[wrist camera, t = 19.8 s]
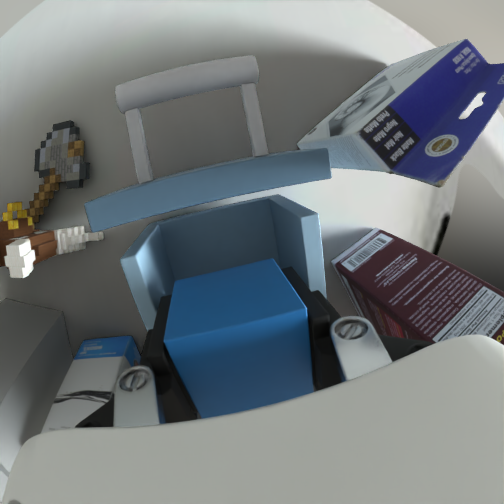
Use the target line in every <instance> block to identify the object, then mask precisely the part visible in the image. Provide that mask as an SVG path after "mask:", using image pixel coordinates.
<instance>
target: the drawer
mask: <svg viewBox="0 0 504 504" xmlns="http://www.w3.org/2000/svg"><path fill="white" fill-rule="evenodd" d="M258 81H259V68H258V63H257V60H256V58H255V57H254V56H253V55H249V56H241V57H233V58H226V59H219V60H213V61H207V62H202V63H197V64H192V65H187V66H182V67H178V68H174V69H170V70H166V71H162V72H158V73H154V74H151V75H147V76H144V77H141V78H137V79H134V80H131V81H128V82H125V83H122V84H119V85H117V86H116V88H115V98H116V103H117V106H118V108H119V110H120V112H121V113H123V114H125V118H126V124H127V129H128V135H129V140H130V145H131V150H132V155H133V160H134V165H135V169H136V174H137V178H138V184H135V185H131V186H128V187H125V188H123V189H120V190H117V191H114V192H112V193H109V194H106V195H104V196H101V197H99V198H96V199H94V200H91V201H89V202H86V203H85V204H84V206H85V210H86V214H87V217H88V221H89V224H90V228H91V231H92V233H95V232H98V231H102V230H105V229H108V228H112V227H115V226H119V225H122V224H126V223H129V222H133V221H136V220H140V219H144V218H147V217H151V216H155V215H159V214H163V213H167V212H170V211H174V210H178V209H182V208H187V207H191V206H195V205H199V204H203V203H208V202H212V201H216V200H221V199H225V198H230V197H234V196H239V195H244V194H249V193H254V192H259V191H264V190H269V189H274V188H279V187H284V186H290V185H295V184H301V183H307V182H312V181H318V180H324V179H330V178H332V173H331V166H330V159H329V153H328V149H327V148H317V149H304V150H293V151H283V152H276V153H270V154H269V152H268V146H267V141H266V136H265V131H264V125H263V120H262V115H261V110H260V105H259V100H258V96H257V91H256V86H255V84H257V83H258ZM238 86H241V87H240V92H241V97H242V102H243V107H244V112H245V117H246V122H247V127H248V132H249V137H250V142H251V147H252V153H253V157H247V158H242V159H237V160H232V161H227V162H222V163H217V164H213V165H208V166H204V167H199V168H195V169H191V170H187V171H183V172H179V173H175V174H171V175H167V176H163V177H159V178H156V179H154V177H153V173H152V168H151V164H150V159H149V154H148V149H147V144H146V139H145V134H144V129H143V123H142V118H141V112H140V110H139V109H140V108H143V107H147V106H150V105H154V104H157V103H161V102H165V101H169V100H173V99H177V98H181V97H185V96H189V95H194V94H199V93H204V92H209V91H214V90H220V89H225V88H232V87H238ZM271 258H273V259H274V261H275V262H276V264H277V265H278V266H279V268H280V269H283V268H287V267H291V266H292V267H293V269H294V270H295V271H296V272H297V274H298V275H299V276H300V278H301V279H302V280H303V281H304V283H305V284H306V285H307V286H308V288H309V289H310V290H311V292H312V291H316V290H319V291H320V292H321V293H322V294H323V296H324V297H325V298H326V284H325V272H324V260H323V250H322V240H321V231H320V222H319V214H318V213H316V212H314V211H312V210H310V209H308V208H306V207H304V206H302V205H300V204H298V203H296V202H294V201H292V200H289V199H287V198H285V197H283V196H281V195H279V194H277V195H272V196H267V197H262V198H257V199H252V200H247V201H243V202H238V203H233V204H229V205H224V206H220V207H216V208H211V209H207V210H203V211H198V212H194V213H190V214H186V215H182V216H178V217H174V218H170V219H166V220H162V221H158V222H154V223H150V224H149V225H148V226H147V227H146V228H145V229H144V231H143V232H142V233H141V234H140V235H139V237H138V238H137V239H136V240H135V241H134V243H133V244H132V245H131V246H130V248H129V249H128V250H127V251H126V252H125V254H124V255H123V256H122V258H121V259H120V263H121V266H122V268H123V271H124V274H125V277H126V280H127V282H128V285H129V288H130V290H131V293H132V296H133V298H134V301H135V303H136V306H137V308H138V311H139V313H140V315H141V318H142V320H143V323H144V325H145V327H146V329H147V332H148V330H150V329H153V326H154V322H155V318H156V314H157V310H158V307H159V303H160V299H161V297H162V296H167V295H171V294H172V293H173V288H174V283H175V281H177V280H181V279H186V278H190V277H194V276H199V275H203V274H207V273H212V272H216V271H220V270H224V269H229V268H233V267H237V266H241V265H246V264H250V263H254V262H258V261H263V260H267V259H271ZM326 299H327V298H326Z"/></svg>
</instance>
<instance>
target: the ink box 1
mask: <svg viewBox="0 0 504 504" xmlns="http://www.w3.org/2000/svg"><path fill="white" fill-rule="evenodd" d="M140 360H141V356H140V354H139V352H138V349H137V347H136V345H135V342H134V340H133V337H132V336H119V337H110V338H99V339H89V340H84V341H83V342H82V344H81V346H80V348H79V350H78V352H77V354H76V356H75V358H74V360H73V362H72V364H71V366H70V368H69V370H68V372H67V374H66V376H65V378H64V380H63V382H62V385H61V387H60V389H59V391H58V393H57V396H56V398H55V399H54V403H53V405H52V407H51V409H50V412H49V414H48V416H47V419H46V421H45V424H44V426H43V429H42V431H41V433H44V432H47V431H51V430H57V429H65V428H75V426H76V425H77V424H78V423H79V422H81V421H82V420H83V419H85V418H86V417H88V416H89V415H90V414H92V413H93V412H94V411H96V410H97V409H99V408H100V407H101V406H103V405H104V404H105V403H107V402H108V401H109V400H111V399H112V398H113V397H114V393H115V382H116V379H117V377H118V376H119V375H120V374H121V373H122V372H123V371H124V370H126V369H128V368H130V367H133V366H137V365H139V364H140Z"/></svg>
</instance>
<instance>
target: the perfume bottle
mask: <svg viewBox="0 0 504 504" xmlns="http://www.w3.org/2000/svg"><path fill="white" fill-rule="evenodd" d="M72 362H73V356H72V352H71V348H70V344H69V340H68V335H67V330H66V326H65V320H64V315H63V311H58V310H53V309H48V308H43V307H39V306H34V305H30V304H26V303H21V302H17V301H13V300H9V299H6V298H5V299H4V300H3V301H2V302H1V303H0V504H1V503H2V499H3V494H4V491H5V487H6V484H7V480H8V477H9V474H10V471H11V469H12V466H13V463H14V461H15V459H16V457H17V455H18V453H19V451H20V449H21V447H22V446H23V444H24V443H25V442H26V441H27V440H28V439H30V438H32V437H33V436H36V435H38V434H41V431H42V429H43V426H44V424H45V421H46V419H47V416H48V414H49V412H50V409H51V407H52V405H53V403H54V399H55V398H56V396H57V393H58V391H59V389H60V387H61V385H62V382H63V380H64V378H65V376H66V374H67V372H68V370H69V368H70V366H71V364H72Z"/></svg>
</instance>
